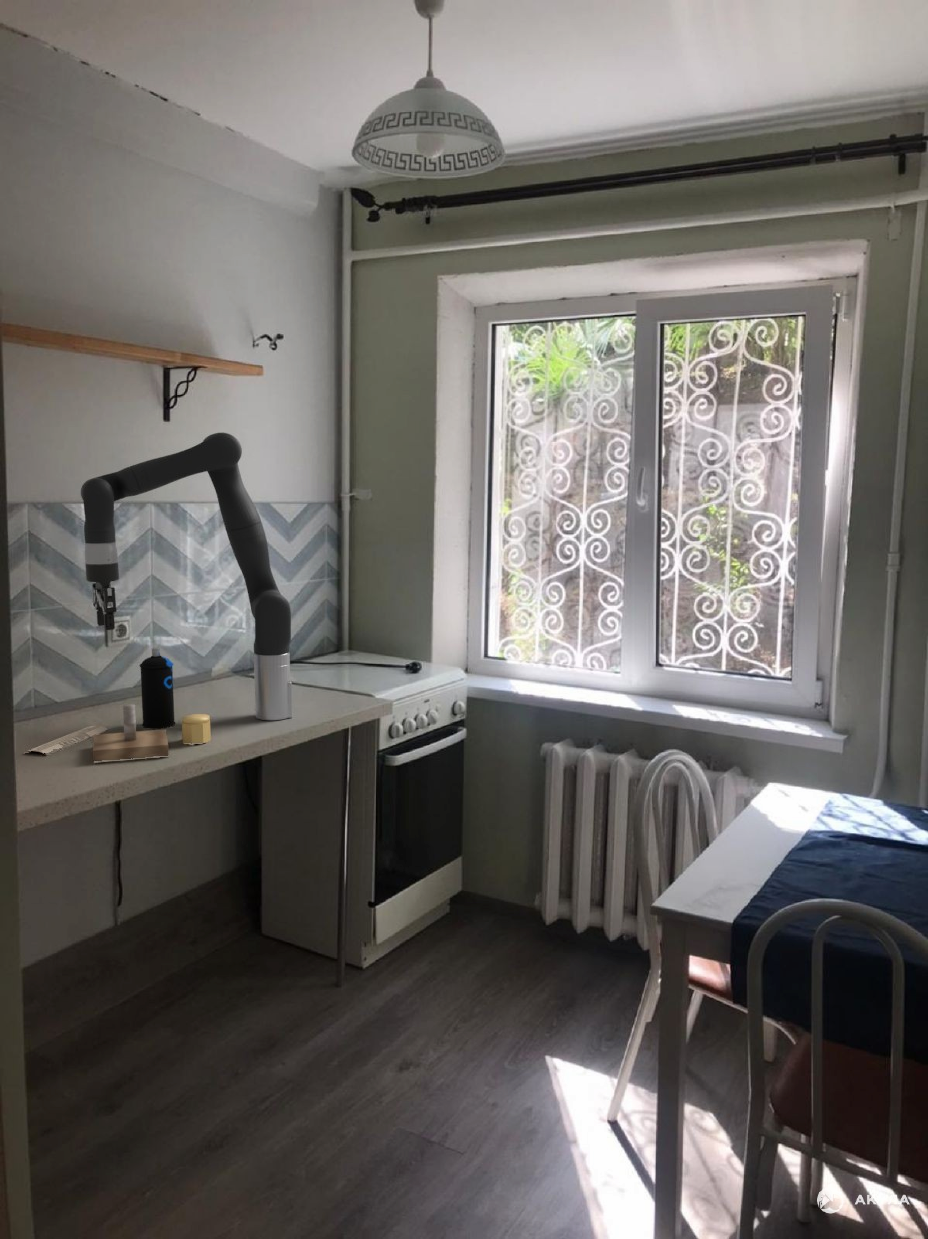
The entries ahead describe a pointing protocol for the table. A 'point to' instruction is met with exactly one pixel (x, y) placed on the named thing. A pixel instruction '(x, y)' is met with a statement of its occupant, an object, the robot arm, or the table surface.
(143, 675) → the aerosol can
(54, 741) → the newspaper
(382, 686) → the table surface
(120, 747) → the bolt base
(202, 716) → the cap
